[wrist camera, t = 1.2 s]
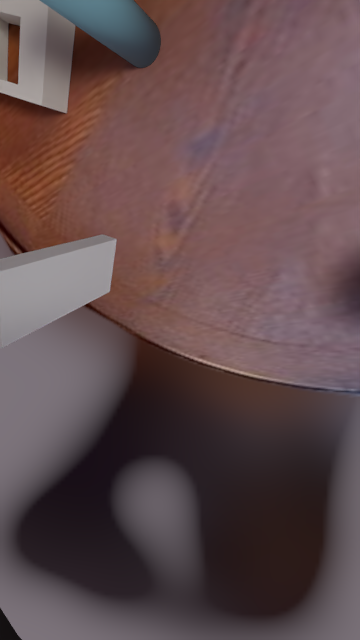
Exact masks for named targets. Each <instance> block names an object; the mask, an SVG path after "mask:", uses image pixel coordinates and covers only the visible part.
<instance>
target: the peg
mask: <svg viewBox="0 0 360 640" xmlns="http://www.w3.org/2000/svg"><path fill="white" fill-rule="evenodd" d="M40 1H41V2H43V3H44V4H46V5H47V6H48V7H50V8H51V9H53V10H54V11H56V12H57V13H59V14H60V15H61V16H63V17H64V18H66V19H67V20H69V21H70V22H72V23H73V24H74V25H76V26H77V27H79V28H80V29H82V30H83V31H85V32H86V33H88V34H89V35H90V36H92V37H93V38H95V39H96V40H98V41H99V42H101V43H102V44H103V45H105V46H106V47H108V48H109V49H111V50H112V51H114V52H115V53H116V54H118V55H119V56H121V57H122V58H124V59H125V60H127V61H128V62H129V63H131V64H132V65H134V66H136V67H138V68H144V67H147V66H149V65H150V64H152V63H153V62H154V60H155V59H156V57H157V55H158V53H159V50H160V44H161V38H160V32H159V29H158V27H157V25H156V24H155V23H154V21H153V20H152V19H151V18H150V17H149V16H148V15H147V14H146V13H145V12H144V11H143V10H142V9H141V8H140V7H139V6H138V5H137V3H136V2H135V1H134V0H40Z"/></svg>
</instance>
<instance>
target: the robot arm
mask: <svg viewBox="0 0 360 640" xmlns="http://www.w3.org/2000/svg"><path fill="white" fill-rule="evenodd" d="M116 240H117V239H115V238H112V237H109V236H106V235H98V236H94V237H90V238H86V239H82V240H77V241H73V242H69V243H65V244H61V245H56V246H52V247H48V248H44V249H40V250H35V251H31V252H27V253H23V254H18V255H14V256H10V257H6V258H2V259H0V348H3V347H5V346H7V345H9V344H11V343H13V342H14V341H16V340H18V339H20V338H22V337H24V336H26V335H28V334H30V333H32V332H34V331H35V330H37V329H39V328H41V327H43V326H45V325H47V324H49V323H51V322H53V321H55V320H57V319H58V318H60V317H62V316H64V315H66V314H68V313H70V312H72V311H74V310H76V309H78V308H80V307H81V306H83V305H85V304H87V303H89V302H91V301H93V300H95V299H97V298H99V297H101V296H102V295H104V294H106V293H108V292H110V286H111V278H112V271H113V263H114V255H115V248H116ZM0 640H22V639H21V638H20V637H19V636H18V635H17V633H16V632H15V630H14V629H13V627H12V626H11V624H10V622H9V621H8V619H7V618H6V616H5V615H4V613H3V612H2V610H1V609H0Z"/></svg>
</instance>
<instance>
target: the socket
mask: <svg viewBox="0 0 360 640" xmlns="http://www.w3.org/2000/svg"><path fill="white" fill-rule="evenodd" d="M9 23H10V24H14V25H18V26H20V47H19V74H18V85H17V84H14V83H11V82H8V81H7V69H8V25H9ZM74 35H75V25H74V24H73V23H72V22H70V21H69V20H67V19H66V18H64V17H63V16H61V15H60V14H59V13H57V12H56V11H54V10H53V9H51V8H50V7H48V6H47V5H46V4H44V3H43V2H41V1H40V0H0V92H1V93H4V94H7V95H10V96H13V97H16V98H19V99H22V100H25V101H28V102H32V103H35V104H38V105H41V106H44V107H47V108H51V109H54V110H57V111H60V112H64V113H67V106H68V96H69V86H70V76H71V65H72V55H73V45H74Z"/></svg>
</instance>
